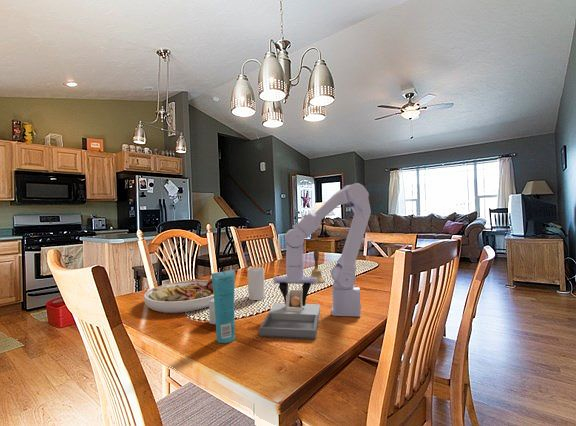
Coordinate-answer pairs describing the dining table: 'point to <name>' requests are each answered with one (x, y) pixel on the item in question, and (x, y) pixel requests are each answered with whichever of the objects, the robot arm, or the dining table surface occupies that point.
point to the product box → (212, 312)
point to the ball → (295, 301)
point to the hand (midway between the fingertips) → (295, 304)
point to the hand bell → (317, 272)
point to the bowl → (180, 296)
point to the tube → (224, 305)
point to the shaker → (290, 295)
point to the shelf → (295, 312)
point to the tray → (288, 328)
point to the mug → (256, 283)
